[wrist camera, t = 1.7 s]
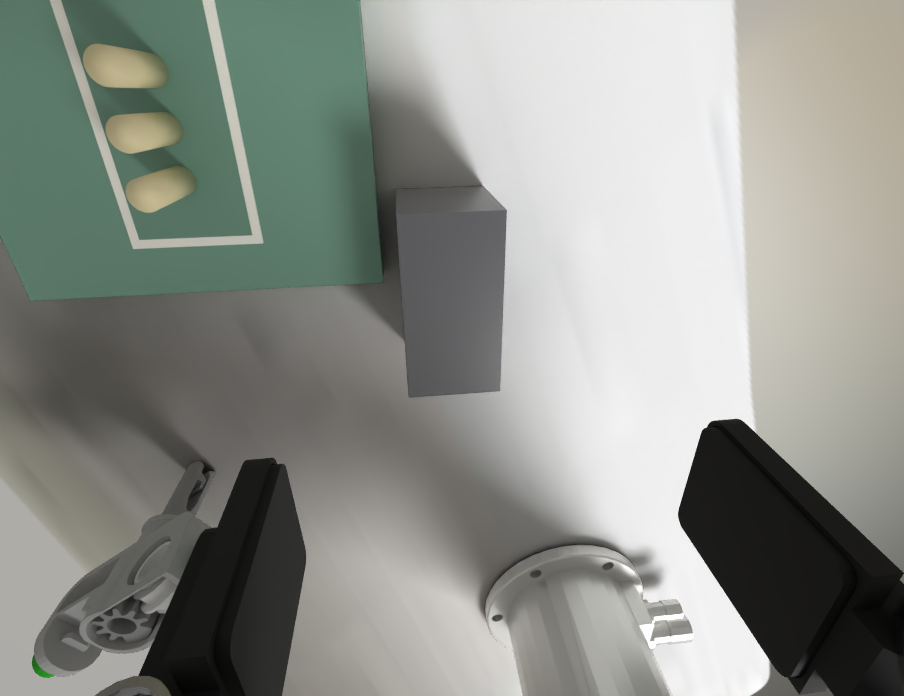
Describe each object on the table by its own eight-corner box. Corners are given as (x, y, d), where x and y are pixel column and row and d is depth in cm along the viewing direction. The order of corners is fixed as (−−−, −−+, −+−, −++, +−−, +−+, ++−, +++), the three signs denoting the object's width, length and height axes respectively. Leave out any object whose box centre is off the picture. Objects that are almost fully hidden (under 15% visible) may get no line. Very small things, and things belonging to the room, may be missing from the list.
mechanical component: (121, 496, 29) (5, 668, 21) (247, 412, 28) (178, 561, 19) (160, 522, 31) (67, 694, 22) (283, 444, 29) (234, 597, 20)
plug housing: (482, 185, 23) (506, 210, 18) (480, 337, 27) (499, 390, 22) (395, 189, 23) (396, 214, 18) (406, 342, 27) (408, 397, 22)
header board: (352, -85, 18) (339, -142, 14) (383, 272, 25) (381, 311, 20) (-115, -91, 17) (-298, -158, 12) (50, 289, 23) (-30, 334, 19)
